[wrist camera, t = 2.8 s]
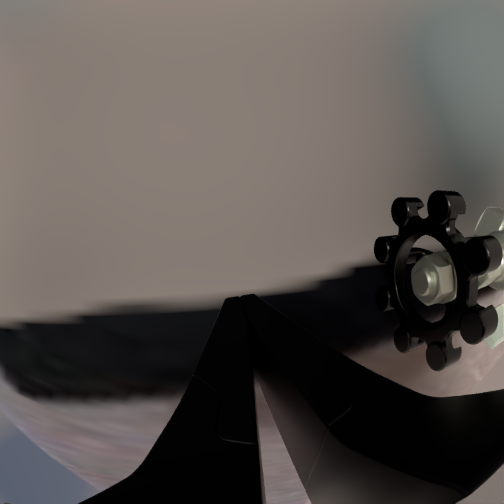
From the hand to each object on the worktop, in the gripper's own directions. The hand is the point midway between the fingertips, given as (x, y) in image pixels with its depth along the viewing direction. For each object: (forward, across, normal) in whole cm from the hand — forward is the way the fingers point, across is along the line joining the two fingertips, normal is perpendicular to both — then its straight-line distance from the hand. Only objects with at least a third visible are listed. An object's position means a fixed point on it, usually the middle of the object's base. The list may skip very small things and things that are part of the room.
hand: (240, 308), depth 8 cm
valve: (+3, -12, 0) cm, 13 cm away
